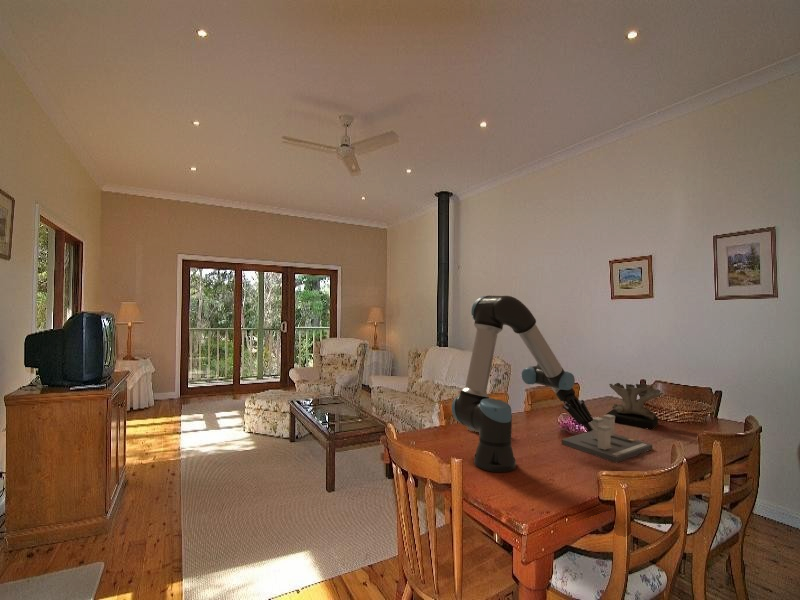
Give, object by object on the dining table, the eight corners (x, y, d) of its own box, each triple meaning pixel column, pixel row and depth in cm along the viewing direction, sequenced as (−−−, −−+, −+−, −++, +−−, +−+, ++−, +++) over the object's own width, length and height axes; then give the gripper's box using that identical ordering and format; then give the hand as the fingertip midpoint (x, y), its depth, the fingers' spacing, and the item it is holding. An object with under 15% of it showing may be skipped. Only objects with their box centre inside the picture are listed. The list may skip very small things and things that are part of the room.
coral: (666, 425, 206) (666, 383, 207) (656, 434, 192) (657, 389, 192) (612, 415, 224) (613, 376, 224) (600, 423, 209) (601, 381, 209)
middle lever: (598, 440, 175) (598, 420, 175) (591, 438, 178) (591, 418, 178) (603, 438, 177) (603, 418, 178) (596, 436, 180) (596, 416, 180)
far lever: (609, 436, 180) (610, 417, 180) (602, 434, 183) (603, 415, 183) (614, 435, 182) (615, 415, 182) (607, 433, 185) (608, 414, 185)
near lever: (604, 450, 163) (605, 428, 163) (597, 447, 166) (597, 426, 166) (610, 448, 166) (611, 426, 166) (603, 445, 168) (603, 424, 168)
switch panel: (616, 462, 157) (616, 457, 157) (561, 443, 177) (561, 439, 177) (652, 449, 172) (652, 444, 172) (597, 433, 192) (598, 429, 192)
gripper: (566, 392, 188) (600, 439, 174) (548, 395, 181) (582, 445, 167) (577, 383, 184) (612, 430, 170) (559, 386, 176) (595, 435, 162)
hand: (597, 437), depth 168 cm, fingers closed
